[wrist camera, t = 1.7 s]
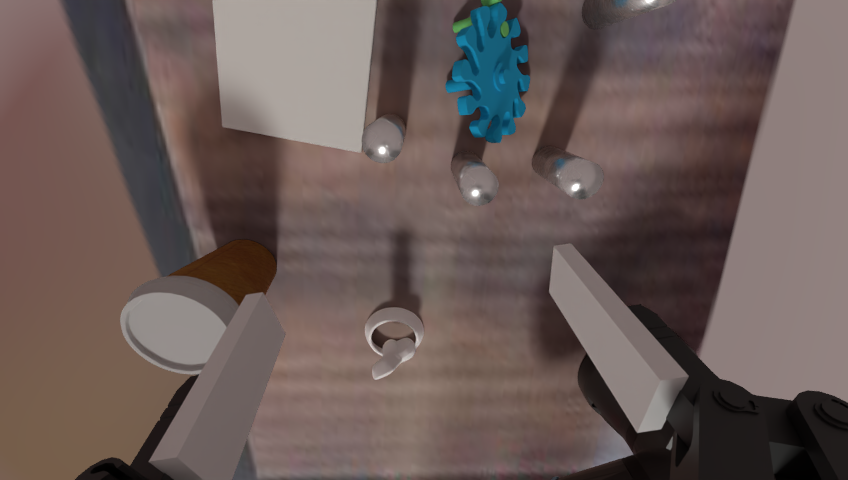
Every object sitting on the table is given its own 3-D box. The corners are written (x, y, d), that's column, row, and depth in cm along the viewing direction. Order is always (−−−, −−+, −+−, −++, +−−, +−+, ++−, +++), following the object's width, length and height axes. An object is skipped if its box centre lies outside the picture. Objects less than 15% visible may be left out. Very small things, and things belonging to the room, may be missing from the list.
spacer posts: (624, -10, 26) (702, -49, 19) (548, 196, 34) (584, 224, 26) (397, -67, 24) (389, -135, 17) (370, 163, 32) (357, 184, 25)
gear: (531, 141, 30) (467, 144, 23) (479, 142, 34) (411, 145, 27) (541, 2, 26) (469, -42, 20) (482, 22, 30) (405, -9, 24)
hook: (389, 292, 32) (425, 354, 31) (408, 294, 44) (435, 339, 43) (328, 331, 32) (360, 395, 31) (363, 323, 44) (388, 369, 43)
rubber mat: (383, -54, 25) (382, -57, 24) (361, 151, 31) (360, 152, 31) (209, -97, 24) (204, -102, 23) (225, 126, 30) (222, 126, 30)
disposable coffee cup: (275, 309, 39) (220, 392, 28) (196, 276, 37) (105, 353, 26) (303, 250, 36) (253, 318, 25) (218, 210, 34) (123, 266, 23)
